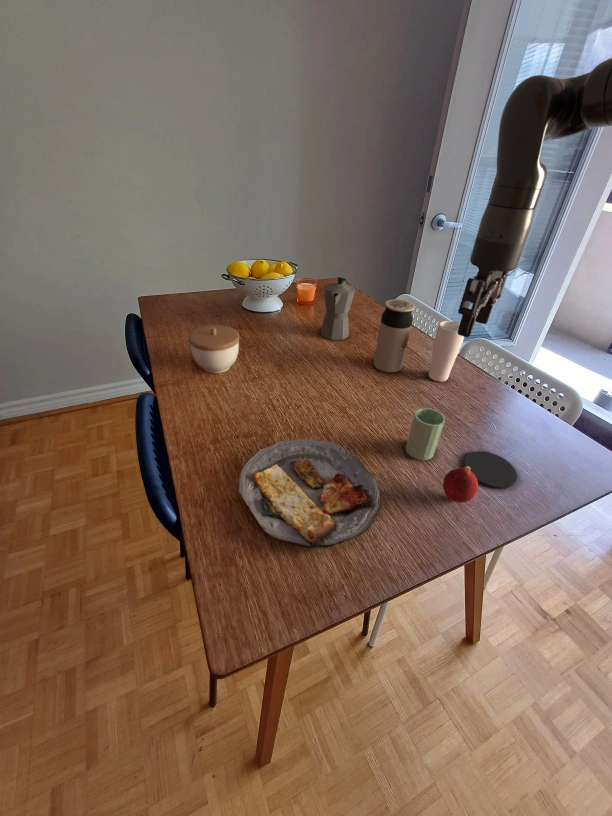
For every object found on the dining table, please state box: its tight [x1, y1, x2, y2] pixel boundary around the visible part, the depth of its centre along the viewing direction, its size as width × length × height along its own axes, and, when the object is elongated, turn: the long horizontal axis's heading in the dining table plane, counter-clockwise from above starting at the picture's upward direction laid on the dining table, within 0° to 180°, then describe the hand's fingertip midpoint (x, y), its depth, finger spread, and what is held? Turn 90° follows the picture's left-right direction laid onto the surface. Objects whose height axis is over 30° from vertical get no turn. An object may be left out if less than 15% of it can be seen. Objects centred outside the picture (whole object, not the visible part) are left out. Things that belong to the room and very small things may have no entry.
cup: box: [405, 407, 446, 461], centre depth 80 cm, size 6×6×9 cm
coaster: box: [463, 450, 518, 490], centre depth 79 cm, size 10×10×1 cm
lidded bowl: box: [188, 324, 240, 374], centre depth 103 cm, size 13×13×11 cm
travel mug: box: [373, 298, 416, 373], centre depth 106 cm, size 8×8×18 cm
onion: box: [442, 466, 479, 503], centre depth 70 cm, size 6×6×8 cm
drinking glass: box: [427, 320, 465, 383], centre depth 104 cm, size 7×7×15 cm
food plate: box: [238, 438, 382, 549], centre depth 71 cm, size 25×23×4 cm
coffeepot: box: [320, 276, 356, 341], centre depth 122 cm, size 15×9×18 cm, turn 164°
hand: (472, 328), depth 74 cm, fingers open, 8 cm apart
